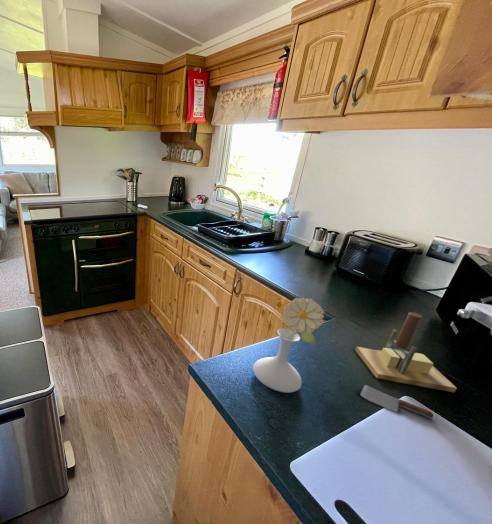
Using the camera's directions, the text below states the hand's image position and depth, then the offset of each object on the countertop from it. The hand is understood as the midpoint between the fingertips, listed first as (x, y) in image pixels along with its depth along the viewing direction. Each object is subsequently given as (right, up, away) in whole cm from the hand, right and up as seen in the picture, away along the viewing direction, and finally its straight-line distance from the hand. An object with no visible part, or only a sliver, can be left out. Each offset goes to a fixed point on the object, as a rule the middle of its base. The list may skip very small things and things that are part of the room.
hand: (475, 322), depth 72 cm
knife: (-13, -13, +9) cm, 21 cm away
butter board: (-11, -15, +9) cm, 21 cm away
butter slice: (-15, -13, +9) cm, 22 cm away
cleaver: (-24, -19, -4) cm, 31 cm away
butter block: (-9, -14, +8) cm, 19 cm away
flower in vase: (-49, -16, +1) cm, 52 cm away
